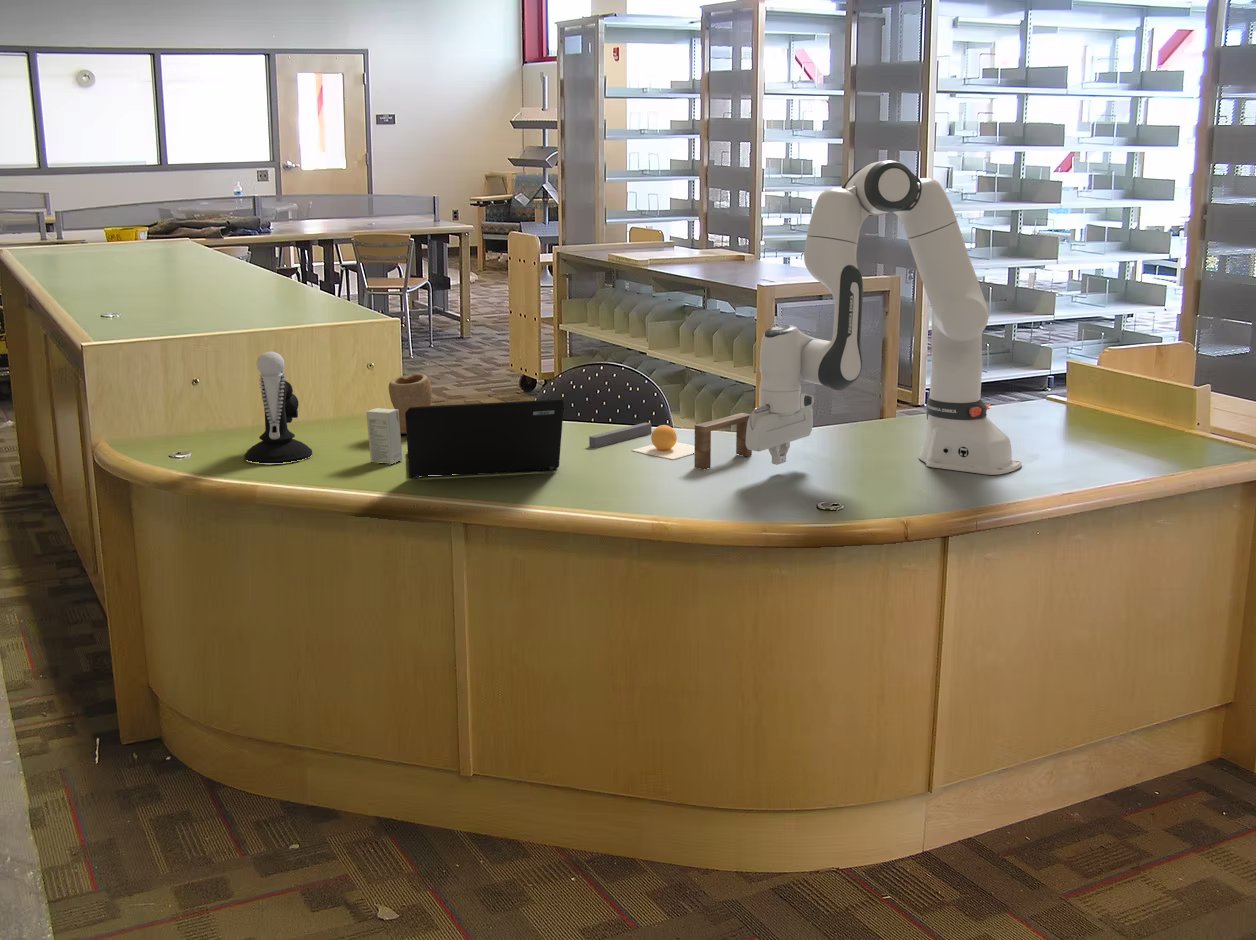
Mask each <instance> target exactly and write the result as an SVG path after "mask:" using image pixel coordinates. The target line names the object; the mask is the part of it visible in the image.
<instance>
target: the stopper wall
mask: <svg viewBox="0 0 1256 940" xmlns="http://www.w3.org/2000/svg"><path fill="white" fill-rule="evenodd" d="M652 425H653V424H652V423H650V422H645V421H644V422H642V423H638V424H634V425H629V426H626V427H622V428H619V429H615V430H610V431H605V432H601V433H598V434H593V435H590V436H589V437H588V439H589V443H588V445H589V448H595V449H596V448H600V447H604V446H608V445H613V444H616V443H620V442H624V441H627V440H632V439H634V438H635V439H636V438H639V437H642V436H648V435H652V432H653V430H652Z"/></svg>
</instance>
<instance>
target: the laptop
mask: <svg viewBox="0 0 1256 940" xmlns="http://www.w3.org/2000/svg"><path fill="white" fill-rule="evenodd" d="M564 406H565V404H564V399H563V398H557V399H554V398H553V399H541V400H536V399H535V400H522V401H503V402H500V401H499V402H482V403H479V402H478V403H463V404H461V403H459V404H442V405H431V406H422V407H409V409H408V410H407V411H406V412H405V419H406V434H405V435H406V445H407V448H406V449H407V459H408V460H409V461H408V477H409V476H411V477H410V478H412V477H419V476H428V475H452V474H473V475H479V474H478V473H490V474H503V473H504V472H506V473H520V472H534V471H535V472H536V471H549V470H551V471H552V470H556V469H558V468H559V467H560V457H561V446H562V445H561V444H562V434H563V433H562V432H563V421H564V420H563V419H564ZM496 472H497V473H496Z"/></svg>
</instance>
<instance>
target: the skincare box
mask: <svg viewBox="0 0 1256 940" xmlns="http://www.w3.org/2000/svg"><path fill="white" fill-rule="evenodd" d="M365 414H366V421H367V432H368V433H367V435H368V436H367V437H368V444H369V458H370V462H371V461H373V462H382V463H391V464H393V463H395V464H397V463H396V462H398V461H400V462H402V461H403V450H402V437H401V434H400V422H399V410H398V409H394V408H383V407H381V408H379V407H376V408H373V409H370V410H367V411H366V412H365ZM401 460H402V461H401ZM398 463H399V462H398ZM391 464H390V465H391ZM393 465H394V464H393Z"/></svg>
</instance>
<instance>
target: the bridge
mask: <svg viewBox="0 0 1256 940" xmlns="http://www.w3.org/2000/svg"><path fill="white" fill-rule="evenodd" d="M750 414H751V413H746V412H740V413H736V414H732V415H729V416H725V417H721V418H716V419H713V420H710V421H709V420H708V421H706V422H701V423H698V424H695V425H694V446H695V454H694V468H695V467H696V468H695V469H699V468H701V469H700V470H704V469H706V470H708V469H707V468H709V469H711V465H712V463H711V462H712V461H711V460H712V457H711V456H712V455H711V454H712V449H711V448H712V447H711V446H712V445H711V443H712V442H711V441H712V431H715V430H720V429H723V428H726V427H731V426H734V425H736V429H735V430H736V431H735V432H736V435H735V436H736V438H735V441H736V443H735V445H736V448H735V455H736V454H739V455H743V456H749V455H753V450H748V449H747V447H746V430H747V423H748V419H749V417H750ZM743 456H742V457H743ZM749 457H750V456H749Z"/></svg>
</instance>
